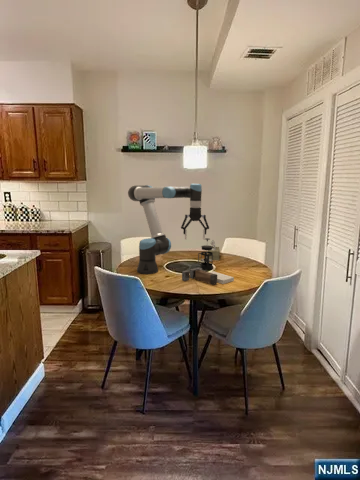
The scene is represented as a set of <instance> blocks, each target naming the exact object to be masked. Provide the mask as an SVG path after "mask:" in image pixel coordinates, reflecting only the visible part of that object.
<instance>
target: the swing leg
mask: <svg viewBox="0 0 360 480" xmlns="http://www.w3.org/2000/svg"><path fill="white" fill-rule="evenodd" d="M209 272H210V271H207V270H203V269H202V270H196V275H195V280H198V281H201V282H203V283H206V284H208V285H212V286H214V285H217V284H218V282H217V274H212V273H209Z"/></svg>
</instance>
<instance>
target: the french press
mask: <svg viewBox="0 0 360 480" xmlns="http://www.w3.org/2000/svg"><path fill="white" fill-rule="evenodd" d="M204 240H206V243H209V242H208V241H209V240H211V238H206V237H205V239H204ZM213 247H214V246H212V245H208V244H205V245H201V246H200V248H201V250H203V251H201V252H198V254H197V256H198V257H197V259H198V260H197V265H198V266H199V268H202V270H203V271H209V270H213V261H214V260H213V253H212V252H208V250H212V248H213ZM208 253H209V254H208ZM202 256H203V258H202ZM209 256H212V260H211V259H209Z"/></svg>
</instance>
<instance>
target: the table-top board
mask: <svg viewBox="0 0 360 480" xmlns="http://www.w3.org/2000/svg"><path fill="white" fill-rule="evenodd" d="M208 272H209V273H212V274H217V284H218V283H219V284H221V285H224V284H228V283H231V282H234V280H235V277H234V276H230V275H226V274H224V273H220V272H217V271H208Z"/></svg>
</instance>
